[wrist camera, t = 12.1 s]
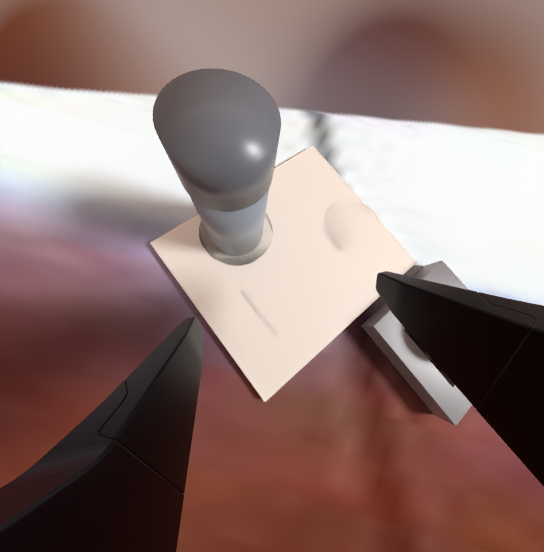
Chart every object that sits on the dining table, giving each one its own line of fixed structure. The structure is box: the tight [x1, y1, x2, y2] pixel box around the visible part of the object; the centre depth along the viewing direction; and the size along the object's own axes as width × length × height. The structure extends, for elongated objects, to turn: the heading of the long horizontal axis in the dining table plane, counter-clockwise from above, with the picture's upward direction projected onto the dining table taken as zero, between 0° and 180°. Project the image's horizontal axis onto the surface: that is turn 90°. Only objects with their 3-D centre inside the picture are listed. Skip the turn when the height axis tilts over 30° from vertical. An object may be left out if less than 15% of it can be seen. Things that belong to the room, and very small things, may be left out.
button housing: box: [361, 261, 472, 426], centre depth 18 cm, size 10×10×2 cm
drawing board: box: [150, 146, 417, 402], centre depth 19 cm, size 20×17×1 cm
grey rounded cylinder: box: [153, 69, 281, 256], centre depth 13 cm, size 5×5×11 cm
